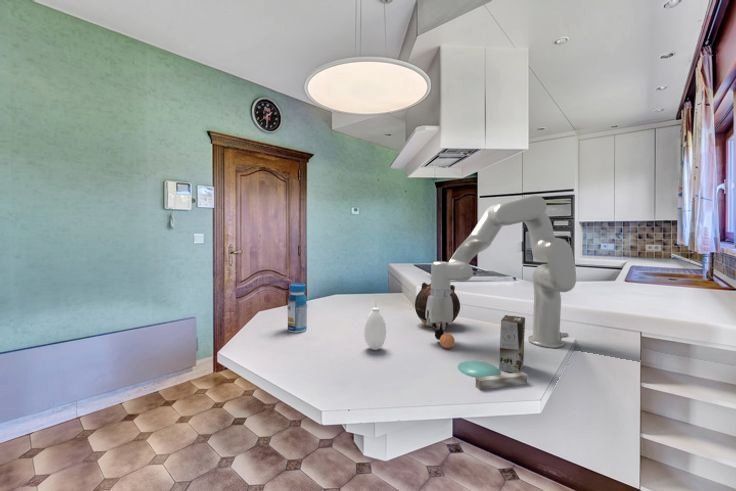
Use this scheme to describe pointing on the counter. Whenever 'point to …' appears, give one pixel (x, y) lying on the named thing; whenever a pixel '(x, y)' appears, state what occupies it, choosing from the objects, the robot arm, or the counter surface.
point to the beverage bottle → (297, 309)
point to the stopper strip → (501, 380)
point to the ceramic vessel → (423, 297)
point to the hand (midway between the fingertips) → (439, 338)
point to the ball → (447, 340)
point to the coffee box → (512, 343)
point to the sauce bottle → (375, 329)
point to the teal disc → (478, 369)
